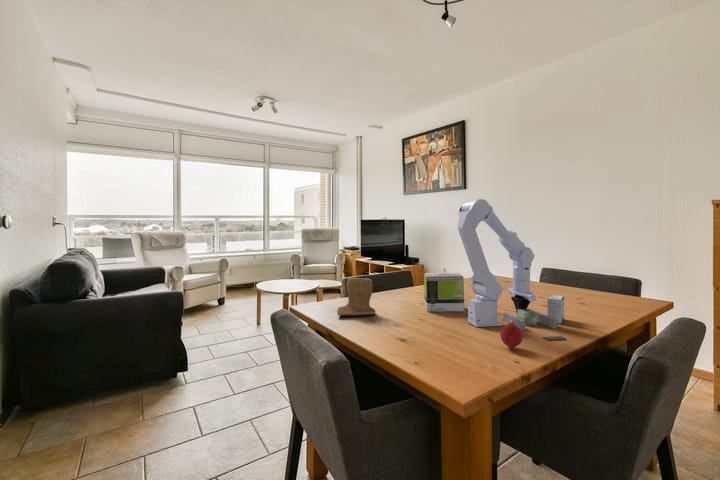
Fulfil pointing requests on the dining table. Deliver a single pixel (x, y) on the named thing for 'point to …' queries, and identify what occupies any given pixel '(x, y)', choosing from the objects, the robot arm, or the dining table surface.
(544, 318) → the tunnel
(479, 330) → the dining table surface
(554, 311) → the medicine box
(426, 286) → the tea box
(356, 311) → the brown flared block
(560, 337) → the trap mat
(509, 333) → the onion
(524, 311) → the green block
